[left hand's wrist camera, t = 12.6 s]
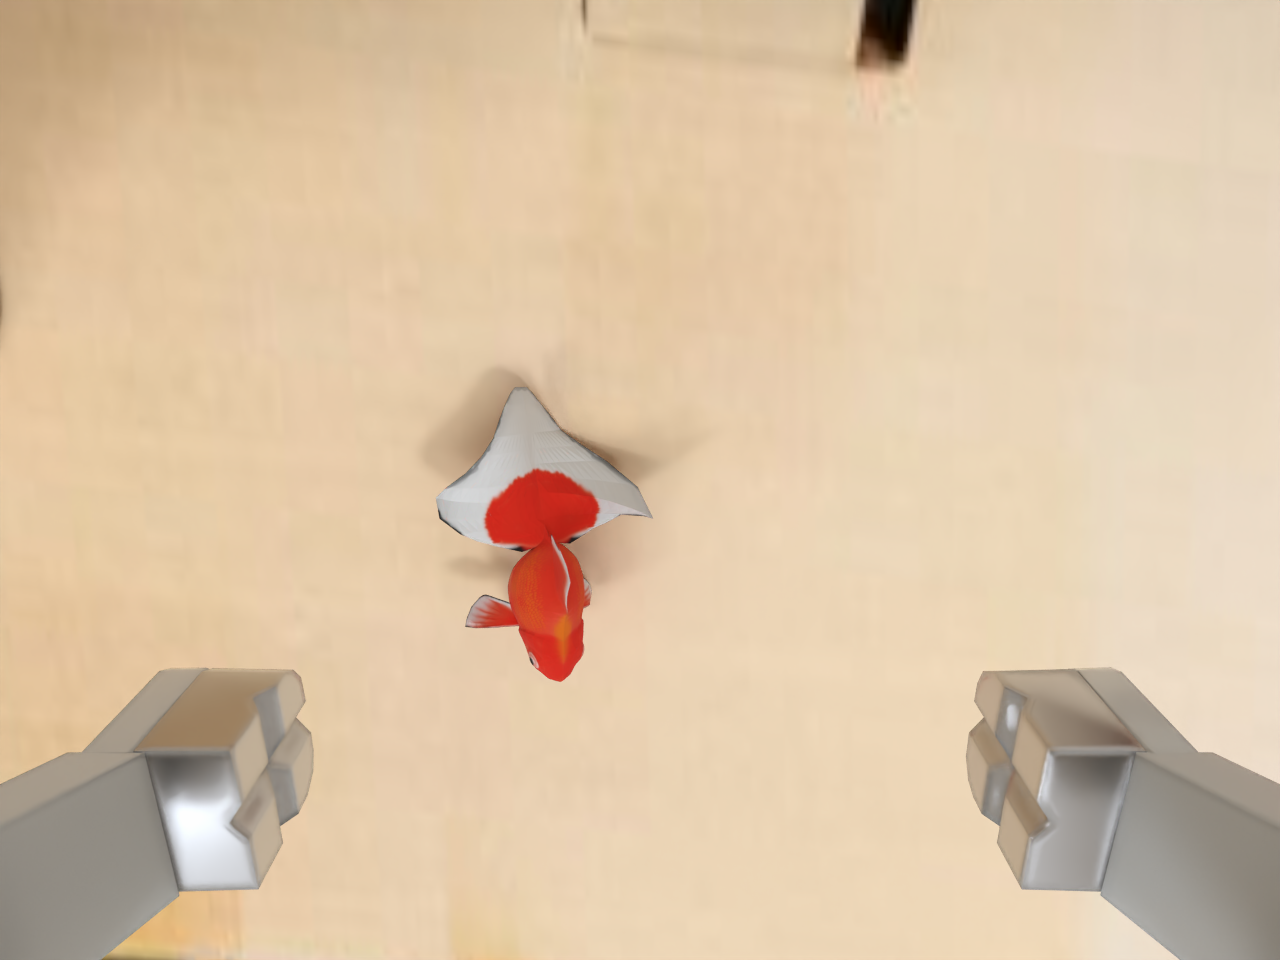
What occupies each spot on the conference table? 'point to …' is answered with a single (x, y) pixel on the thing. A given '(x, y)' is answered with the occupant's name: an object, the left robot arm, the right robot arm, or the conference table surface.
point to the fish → (538, 526)
